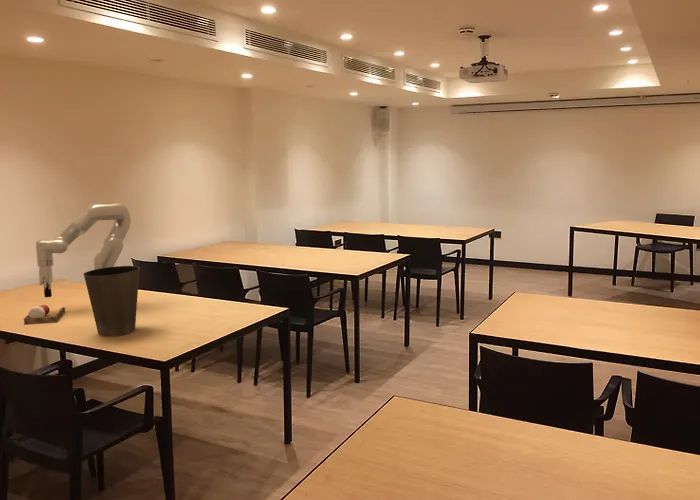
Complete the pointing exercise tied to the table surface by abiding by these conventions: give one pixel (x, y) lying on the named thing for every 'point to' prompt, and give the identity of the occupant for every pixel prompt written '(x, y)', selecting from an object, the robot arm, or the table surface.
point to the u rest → (44, 318)
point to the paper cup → (39, 311)
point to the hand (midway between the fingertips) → (48, 296)
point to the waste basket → (113, 298)
